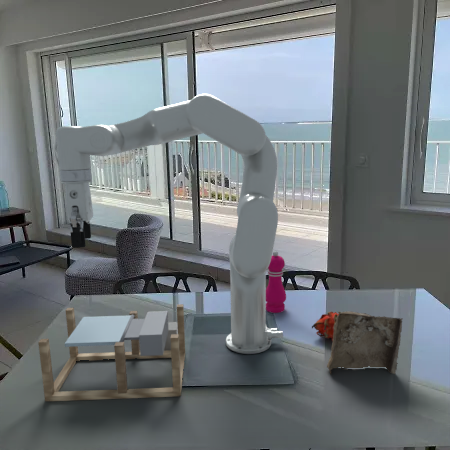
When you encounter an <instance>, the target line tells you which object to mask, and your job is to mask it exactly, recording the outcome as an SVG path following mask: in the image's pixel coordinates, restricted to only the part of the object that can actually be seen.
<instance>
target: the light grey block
mask: <svg viewBox="0 0 450 450" xmlns="http://www.w3.org/2000/svg"><path fill="white" fill-rule="evenodd" d="M168 328H169V330H168V334H167V339H166V343H165V348H164V351H167V350H171V334H178V325H177V321H168Z"/></svg>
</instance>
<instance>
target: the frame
mask: <svg viewBox="0 0 450 450" xmlns="http://www.w3.org/2000/svg"><path fill="white" fill-rule="evenodd" d="M132 314H133V315H134V316H135V317H134V319H139V314H138V310H130V311H129V314H128V315H132ZM65 316H66V317H65V319H66V328H67V339H68V338H69V337H70V335H71V334H72V332H73V331H74V330H75V328H76V327H77V325H76V316H75V308H74V307H67V308H66V309H65ZM176 319H177V321H176V322H177V325H178V334H171V350H167V351H164V353H163V355H154V356H140V341H139V340H130V345H131V351H126V350H125V349H126V348H125V341H124V342H116V343H115V345H113V347H114V350H113V351H114V352H110V351H109V352H90V353H89V352H87V353H85V352H84V353H83V352H82V353H81V352H80V353H79V346H73V347H68V350H69V358H68V360H67V361H66V362H65V365H64V366H63V367H62V369H61V370H60V371H59V374H58V375H57V376H56V377H55V379H54V374H53V365H52V355H51V346H50V339H49V338H41V339H39V341H38V350H39V352H38V353H39V359H40V368H41V378H42V385H43V392H44V393H43V394H44V401H45V402H62V401H63V402H67V401H69V402H70V401H89V400H112V399H113V400H117V399H118V400H119V399H138V398H139V399H140V398H141V399H143V398H145V399H147V398H165V397H166V398H169V397H172V398H174V397H181V396H182V390H183V389H182V387H183V380H182V378H183V379H184V371H183V369H184V370H185V362H184V361H186V360H185V359H186V335H185V334H186V333H185V311H184V303H183V304H179V303H178V304H176ZM135 358H137V359H135ZM167 358H169V359H170V358H171V374H172V378H171V379H172V386H171V387H149V388H147V387H146V388H128V376H127V364H126V363H127V361H126V360H138V359H167ZM103 359H108V360H107V361H110V360H109V359H115V360H114V362H115V375H116V386H117V387H116V388H117V389H100V390H99V389H98V390H97V389H96V390H73V391H71V390H69V391H60V390H61V388H62V387H63V384H64V382H66V380H67V378H68V376H69V375H70V373H71V372H72V370H73V368H74V366H75V365H76V363H77V362H81V361H80V360H89V361H104V360H103ZM76 361H77V362H76Z"/></svg>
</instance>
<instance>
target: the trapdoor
mask: <svg viewBox="0 0 450 450" xmlns="http://www.w3.org/2000/svg"><path fill="white" fill-rule="evenodd" d="M168 312H169V311H168V310H155V311H154V310H153V311H147V313H146V315H145V317H144V318H138V319H134V317H135V316H134V315H133V314H132V315H129V314H128V315H127V314H126V315H107V316H106V315H102V316H101V315H100V316H99V315H98V316H83V317H82V318H81V320H80V321H79V322H78V324H77V325H76V328H75V330H74V331H73V332H72V334H71V335H70V337H69V338H68V337H67V339H66V341H65V342H64V348H65V347H68V348H69V347H73V346H78V347H97V346H99V347H101V346H114V345H115V343H116V342H124V343H125V341H131V340H139V343H140V356H154V355H163V353H164V348H165V343H166V339H167V334H168V330H169V328H168V322H169V313H168Z"/></svg>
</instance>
